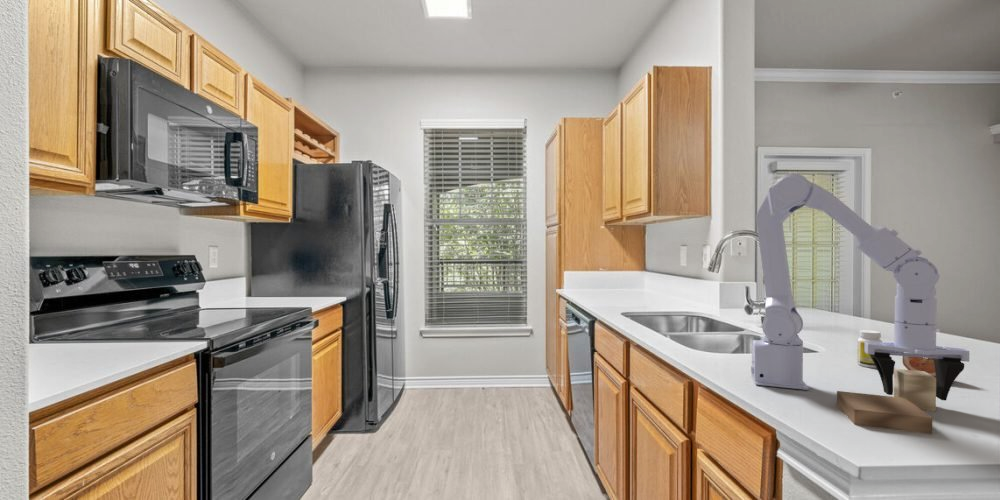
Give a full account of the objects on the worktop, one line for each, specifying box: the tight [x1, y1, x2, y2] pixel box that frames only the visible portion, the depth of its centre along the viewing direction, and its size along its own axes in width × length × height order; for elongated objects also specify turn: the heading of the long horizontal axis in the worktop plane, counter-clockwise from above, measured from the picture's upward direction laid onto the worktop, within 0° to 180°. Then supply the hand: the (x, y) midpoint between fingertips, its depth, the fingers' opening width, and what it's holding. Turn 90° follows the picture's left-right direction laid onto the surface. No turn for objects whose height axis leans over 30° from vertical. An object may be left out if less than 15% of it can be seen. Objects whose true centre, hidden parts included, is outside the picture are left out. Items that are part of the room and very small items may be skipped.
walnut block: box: [836, 390, 933, 435], centre depth 78 cm, size 10×10×3 cm
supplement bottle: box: [857, 329, 883, 369], centre depth 111 cm, size 5×5×8 cm
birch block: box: [893, 368, 937, 412], centre depth 84 cm, size 4×4×6 cm
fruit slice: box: [901, 356, 936, 378], centre depth 101 cm, size 8×7×5 cm
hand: (914, 395), depth 84 cm, fingers open, 7 cm apart
